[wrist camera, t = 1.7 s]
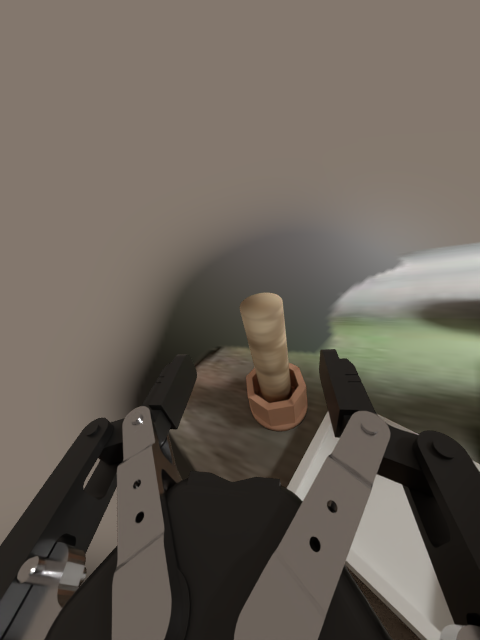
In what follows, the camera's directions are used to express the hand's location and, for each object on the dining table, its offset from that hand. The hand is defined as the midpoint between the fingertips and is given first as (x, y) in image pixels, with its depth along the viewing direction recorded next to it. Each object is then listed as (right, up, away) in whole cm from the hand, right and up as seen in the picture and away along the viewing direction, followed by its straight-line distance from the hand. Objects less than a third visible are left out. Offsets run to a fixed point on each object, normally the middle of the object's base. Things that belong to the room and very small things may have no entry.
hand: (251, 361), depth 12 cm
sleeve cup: (+6, -12, +23) cm, 27 cm away
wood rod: (+6, -11, +23) cm, 26 cm away
